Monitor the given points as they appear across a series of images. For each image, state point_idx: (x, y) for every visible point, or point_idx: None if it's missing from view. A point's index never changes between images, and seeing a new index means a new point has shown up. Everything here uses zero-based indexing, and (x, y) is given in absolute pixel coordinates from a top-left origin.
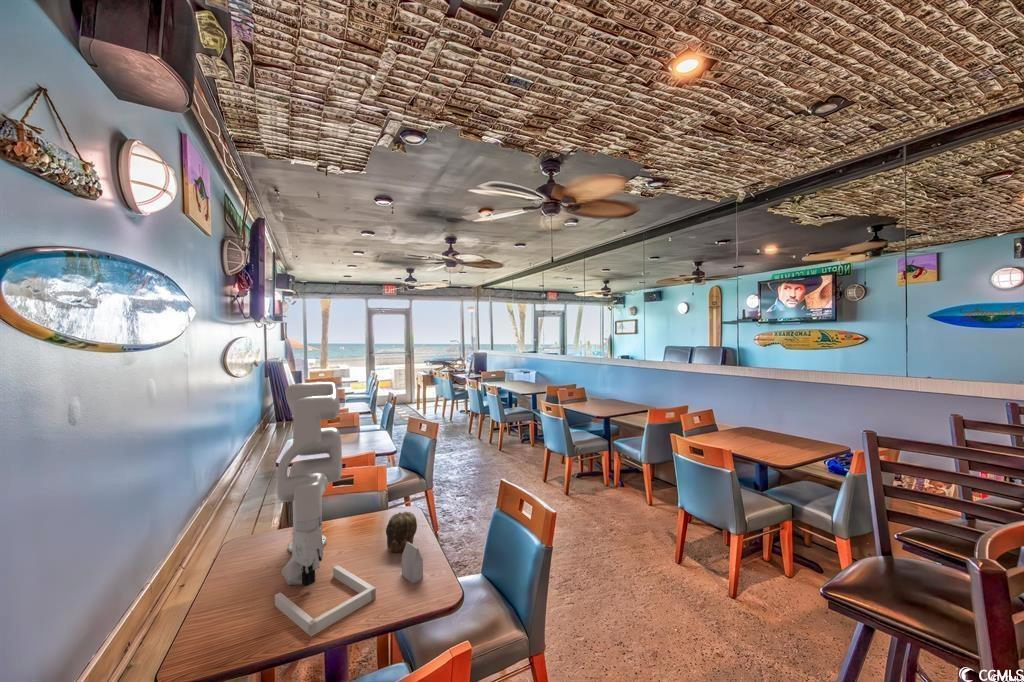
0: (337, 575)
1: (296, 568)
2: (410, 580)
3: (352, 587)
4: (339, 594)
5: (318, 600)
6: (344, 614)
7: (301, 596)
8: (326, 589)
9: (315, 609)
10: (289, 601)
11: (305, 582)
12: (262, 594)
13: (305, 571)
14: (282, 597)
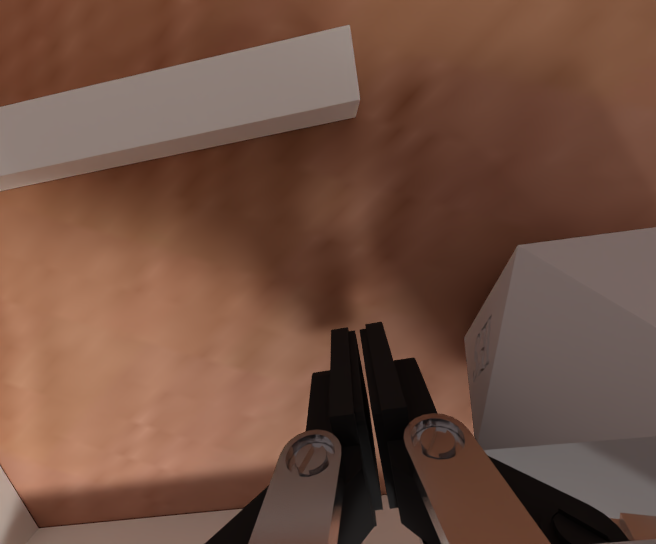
0: None
1: (591, 383)
2: None
3: (184, 522)
4: (176, 451)
5: (191, 345)
6: None
7: (325, 275)
8: (288, 419)
9: (94, 300)
10: (100, 137)
11: (331, 355)
12: (646, 2)
13: (337, 450)
14: (231, 93)
